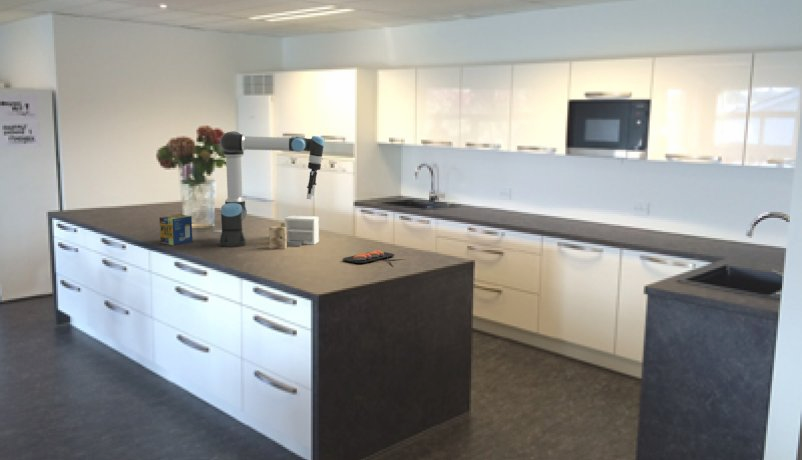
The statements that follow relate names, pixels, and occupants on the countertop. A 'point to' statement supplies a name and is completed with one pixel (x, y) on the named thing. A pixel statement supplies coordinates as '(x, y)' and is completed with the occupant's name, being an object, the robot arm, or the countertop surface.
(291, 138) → the robot arm
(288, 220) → the cabinet
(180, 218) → the protein box
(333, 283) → the countertop surface
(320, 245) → the countertop surface
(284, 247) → the door
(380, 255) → the sushi plate
